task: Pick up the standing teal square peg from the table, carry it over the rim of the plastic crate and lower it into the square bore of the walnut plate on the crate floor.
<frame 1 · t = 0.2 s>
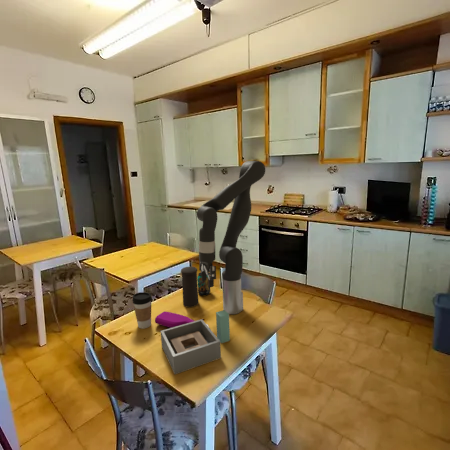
hand: (207, 283, 131), 18 cm above the table, tool pointing down, fingers open, 8 cm apart
crate: (190, 352, 110), on the table
container: (191, 304, 149), on the table
coffee cup: (144, 325, 130), on the table
spray bottle: (182, 325, 128), on the table, touching crate
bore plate: (189, 346, 109), in the crate, point 2 cm above the table
beverage can: (204, 293, 161), on the table
peg: (223, 339, 117), on the table
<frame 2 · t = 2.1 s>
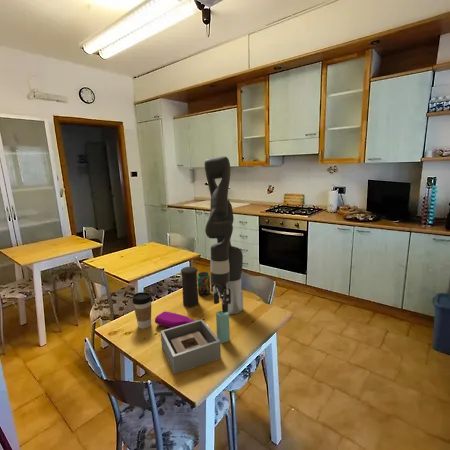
hand: (220, 307, 114), 14 cm above the table, tool pointing down, fingers open, 8 cm apart
nothing on the table moved.
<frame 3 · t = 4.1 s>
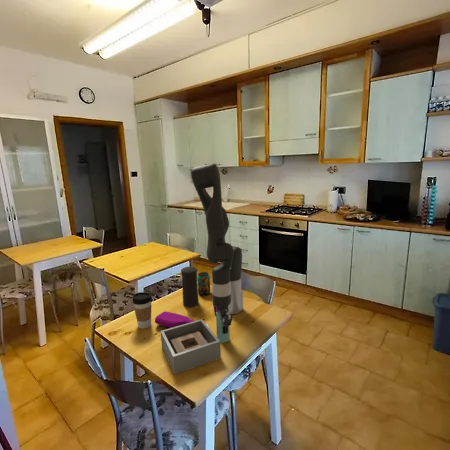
hand: (223, 330, 116), 4 cm above the table, tool pointing down, fingers closed on peg, 4 cm apart
peg: (223, 339, 117), on the table, touching gripper
everything else where it was.
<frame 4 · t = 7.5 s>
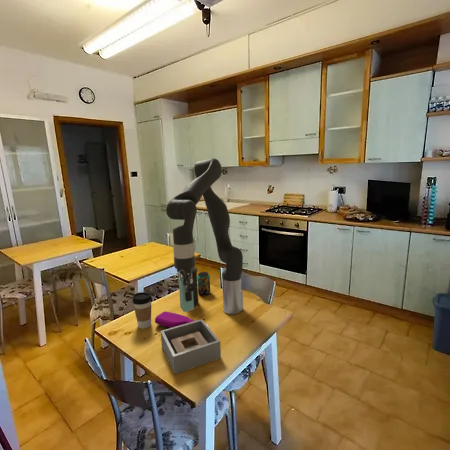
hand: (186, 298, 105), 23 cm above the table, tool pointing down, fingers closed on peg, 4 cm apart
peg: (187, 308, 106), point 19 cm above the table, touching gripper
everything else where it was.
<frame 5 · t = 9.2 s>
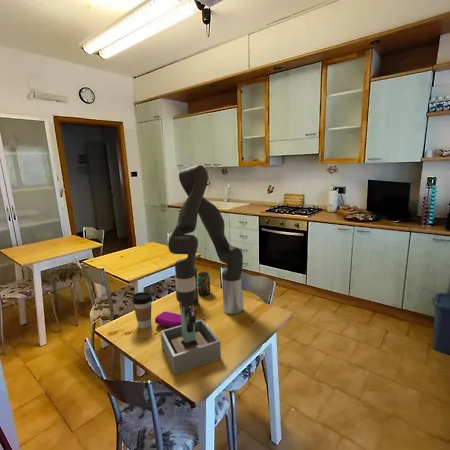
hand: (188, 328, 108), 10 cm above the table, tool pointing down, fingers closed on peg, 4 cm apart
peg: (188, 338, 108), point 6 cm above the table, touching gripper
everything else where it was.
when the fingers open (7 cm above the table, at t = 10.9 s): peg drops 1 cm, resting on crate.
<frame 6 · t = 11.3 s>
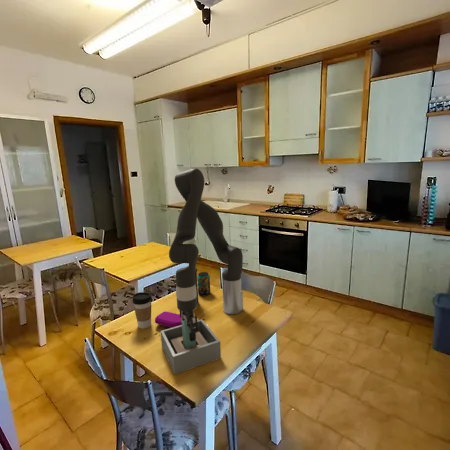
hand: (189, 334, 108), 8 cm above the table, tool pointing down, fingers open, 8 cm apart
peg: (189, 349, 109), point 1 cm above the table, touching crate
everything else where it was.
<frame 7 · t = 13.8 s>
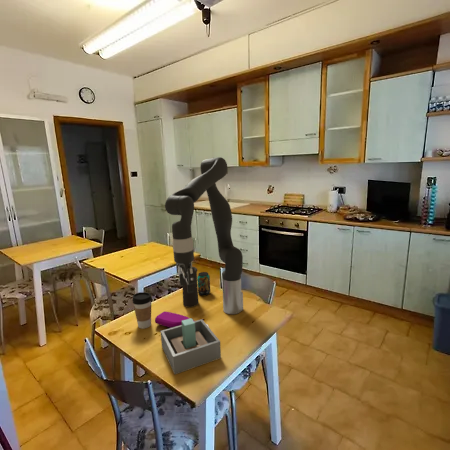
hand: (186, 288, 109), 25 cm above the table, tool pointing down, fingers open, 8 cm apart
nothing on the table moved.
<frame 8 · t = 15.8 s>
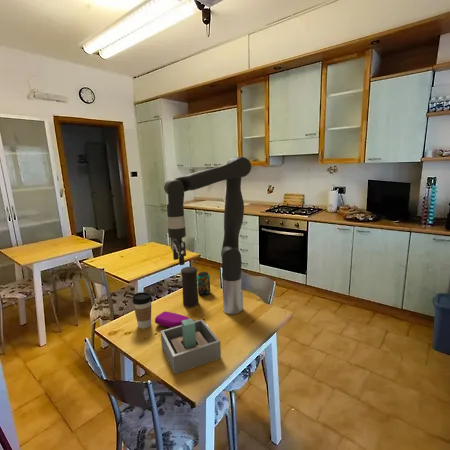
hand: (178, 262, 124), 30 cm above the table, tool pointing down, fingers open, 8 cm apart
nothing on the table moved.
at the end: peg 0.1 cm off-centre on the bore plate, point 1.0 cm above the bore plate's base; peg tilted 0°; the gripper is holding nothing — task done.
